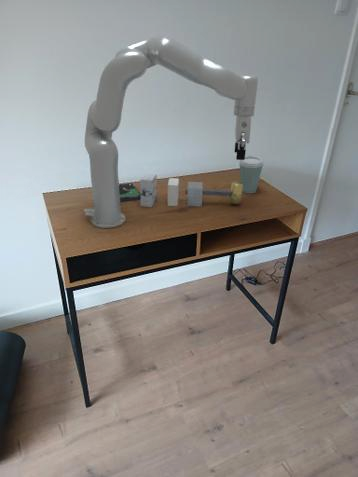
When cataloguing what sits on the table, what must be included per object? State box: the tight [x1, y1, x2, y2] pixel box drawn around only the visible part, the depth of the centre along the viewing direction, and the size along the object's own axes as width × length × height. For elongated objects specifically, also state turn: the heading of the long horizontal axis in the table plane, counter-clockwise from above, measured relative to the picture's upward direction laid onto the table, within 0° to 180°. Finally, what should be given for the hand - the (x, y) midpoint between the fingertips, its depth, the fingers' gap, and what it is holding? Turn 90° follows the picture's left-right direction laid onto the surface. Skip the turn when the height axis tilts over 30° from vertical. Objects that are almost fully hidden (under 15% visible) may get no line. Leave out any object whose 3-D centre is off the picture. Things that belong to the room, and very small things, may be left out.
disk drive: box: [119, 182, 141, 203], centre depth 159 cm, size 10×3×15 cm
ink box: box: [139, 172, 158, 208], centre depth 150 cm, size 9×5×12 cm, turn 168°
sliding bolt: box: [184, 180, 243, 204], centre depth 150 cm, size 23×5×8 cm, turn 86°
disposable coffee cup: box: [238, 155, 264, 194], centre depth 163 cm, size 11×11×15 cm
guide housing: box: [186, 181, 204, 208], centre depth 152 cm, size 6×7×8 cm
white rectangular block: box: [167, 177, 180, 207], centre depth 152 cm, size 4×8×9 cm, turn 176°
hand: (239, 155), depth 145 cm, fingers open, 9 cm apart
